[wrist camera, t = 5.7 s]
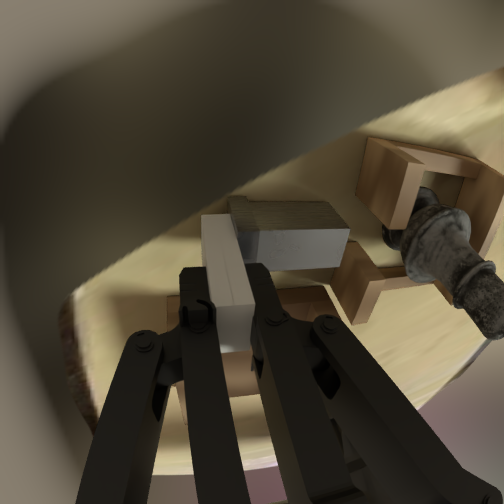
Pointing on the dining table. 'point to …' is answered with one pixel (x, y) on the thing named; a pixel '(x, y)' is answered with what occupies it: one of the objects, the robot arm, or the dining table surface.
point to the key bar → (288, 233)
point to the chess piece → (450, 260)
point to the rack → (239, 363)
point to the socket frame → (399, 210)
